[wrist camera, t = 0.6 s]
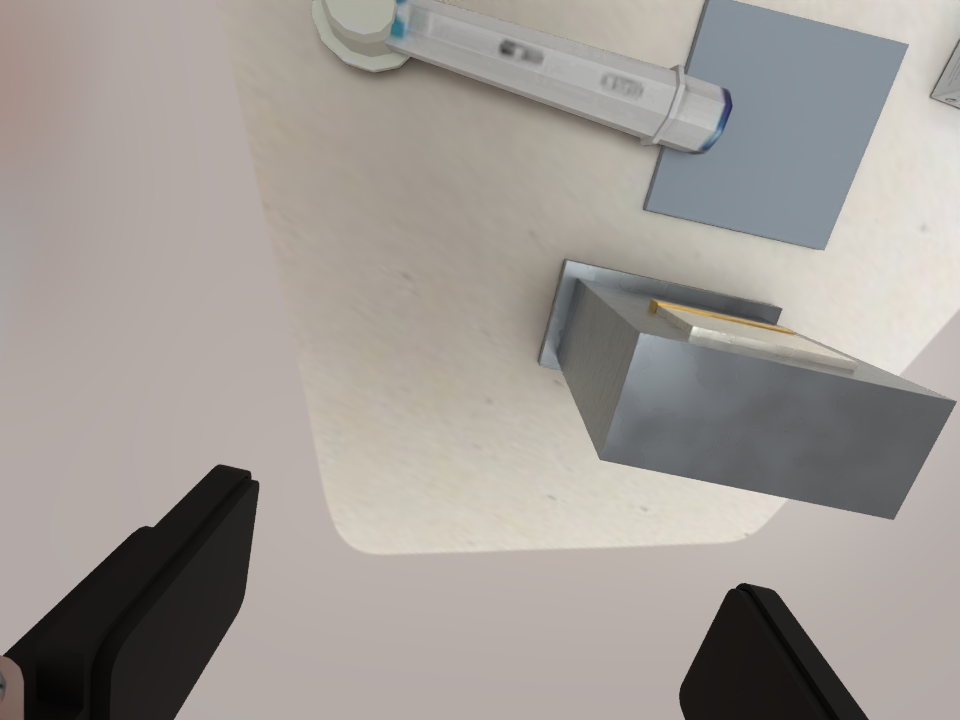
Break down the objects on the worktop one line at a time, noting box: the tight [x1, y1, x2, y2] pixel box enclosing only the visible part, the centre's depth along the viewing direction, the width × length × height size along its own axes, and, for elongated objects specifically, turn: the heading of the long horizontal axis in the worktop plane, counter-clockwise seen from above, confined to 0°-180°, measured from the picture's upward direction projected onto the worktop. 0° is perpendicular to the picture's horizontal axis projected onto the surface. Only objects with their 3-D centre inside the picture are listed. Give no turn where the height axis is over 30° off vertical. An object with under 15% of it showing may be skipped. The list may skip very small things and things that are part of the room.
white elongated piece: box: [311, 0, 733, 155], centre depth 31 cm, size 5×7×25 cm
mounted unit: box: [538, 259, 957, 520], centre depth 31 cm, size 8×16×17 cm, turn 78°
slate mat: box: [643, 0, 909, 250], centre depth 34 cm, size 13×13×1 cm
